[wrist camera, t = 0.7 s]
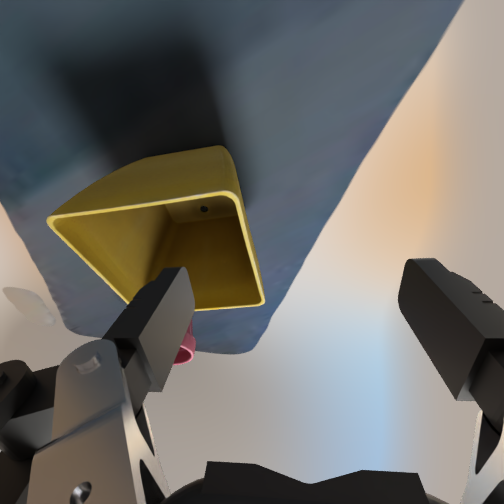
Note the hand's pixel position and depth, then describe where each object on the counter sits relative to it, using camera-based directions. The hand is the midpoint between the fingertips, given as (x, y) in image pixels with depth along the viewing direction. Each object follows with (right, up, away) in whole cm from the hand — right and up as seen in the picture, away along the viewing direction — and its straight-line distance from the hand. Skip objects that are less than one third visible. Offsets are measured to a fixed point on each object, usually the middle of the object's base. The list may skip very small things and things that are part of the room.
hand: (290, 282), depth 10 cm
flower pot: (-10, +11, +32) cm, 35 cm away
